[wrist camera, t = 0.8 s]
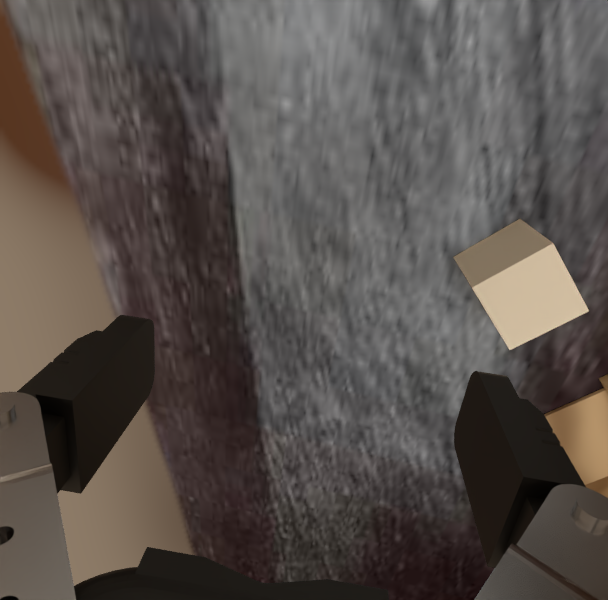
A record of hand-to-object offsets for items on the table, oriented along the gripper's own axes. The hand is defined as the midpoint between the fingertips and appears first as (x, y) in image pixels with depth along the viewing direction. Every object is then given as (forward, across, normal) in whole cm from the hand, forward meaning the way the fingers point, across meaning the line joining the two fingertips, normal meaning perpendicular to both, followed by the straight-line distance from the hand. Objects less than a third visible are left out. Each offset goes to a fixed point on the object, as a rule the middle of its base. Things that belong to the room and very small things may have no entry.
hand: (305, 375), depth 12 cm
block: (+23, -12, +3) cm, 27 cm away
